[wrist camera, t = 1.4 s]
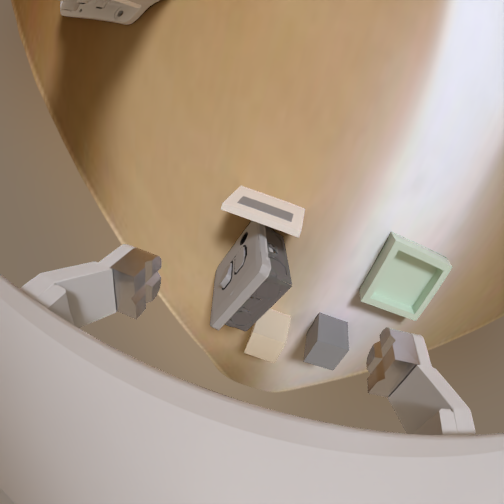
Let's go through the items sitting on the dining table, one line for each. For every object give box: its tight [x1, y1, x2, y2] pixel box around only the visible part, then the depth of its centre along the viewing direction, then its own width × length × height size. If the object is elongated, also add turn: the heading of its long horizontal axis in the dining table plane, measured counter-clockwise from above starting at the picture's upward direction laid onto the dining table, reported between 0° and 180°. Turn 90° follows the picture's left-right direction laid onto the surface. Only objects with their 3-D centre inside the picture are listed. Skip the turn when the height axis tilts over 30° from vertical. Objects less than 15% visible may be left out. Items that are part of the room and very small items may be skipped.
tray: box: [359, 232, 452, 321], centre depth 28 cm, size 8×8×2 cm
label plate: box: [221, 186, 305, 238], centre depth 27 cm, size 7×1×6 cm, turn 74°
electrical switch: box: [210, 221, 292, 331], centre depth 29 cm, size 9×5×9 cm, turn 146°
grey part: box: [303, 313, 349, 370], centre depth 33 cm, size 4×4×5 cm
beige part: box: [244, 309, 291, 363], centre depth 35 cm, size 4×4×5 cm
